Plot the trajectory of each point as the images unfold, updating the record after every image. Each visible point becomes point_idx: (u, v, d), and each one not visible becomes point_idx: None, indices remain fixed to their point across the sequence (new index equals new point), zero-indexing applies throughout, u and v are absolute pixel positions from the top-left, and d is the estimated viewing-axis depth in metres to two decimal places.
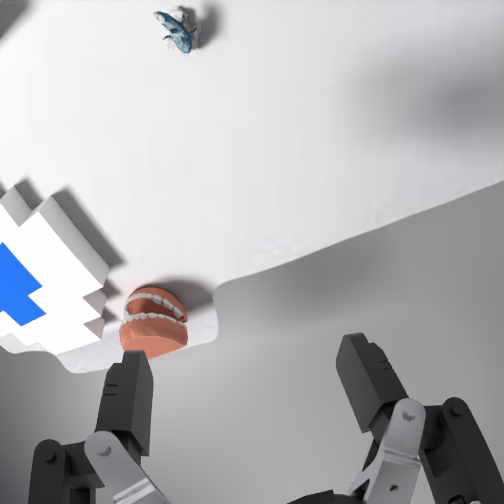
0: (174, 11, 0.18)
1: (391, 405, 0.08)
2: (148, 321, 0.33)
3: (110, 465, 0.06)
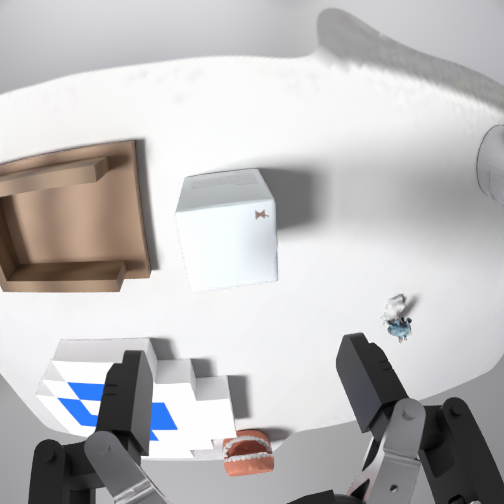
0: (402, 304, 0.32)
1: (391, 405, 0.08)
2: (262, 459, 0.40)
3: (110, 465, 0.06)
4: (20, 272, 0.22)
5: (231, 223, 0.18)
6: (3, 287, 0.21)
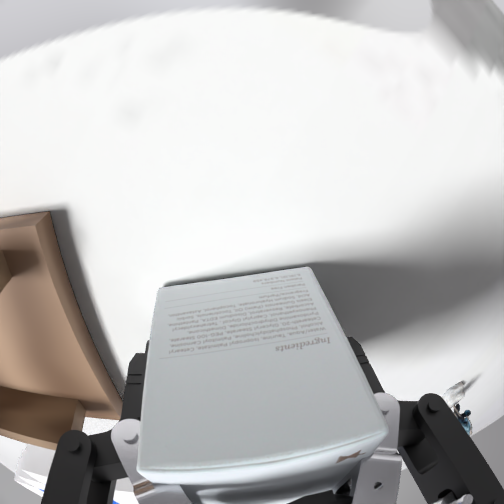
0: (462, 395, 0.20)
1: None
2: None
3: None
4: None
5: (278, 477, 0.06)
6: None
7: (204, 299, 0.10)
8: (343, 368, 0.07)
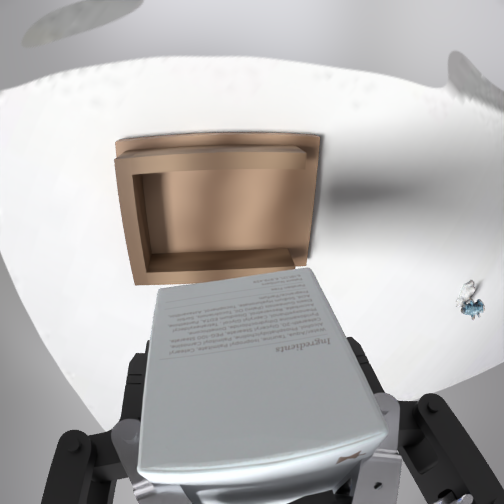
0: (473, 288, 0.35)
1: None
2: None
3: None
4: (160, 262, 0.24)
5: (278, 478, 0.06)
6: (137, 280, 0.23)
7: (204, 300, 0.10)
8: (343, 369, 0.07)
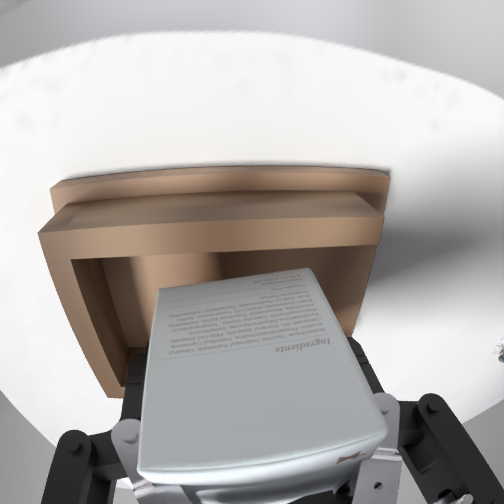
0: None
1: None
2: None
3: None
4: None
5: (278, 478, 0.06)
6: (110, 393, 0.14)
7: (204, 300, 0.10)
8: (343, 369, 0.07)
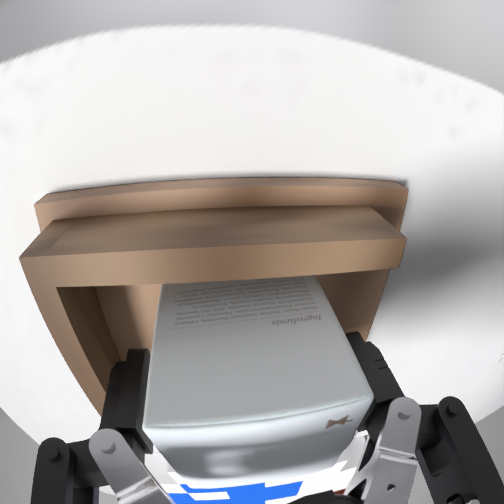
0: None
1: (387, 404, 0.09)
2: None
3: (115, 463, 0.06)
4: None
5: (272, 440, 0.07)
6: None
7: None
8: (332, 341, 0.08)
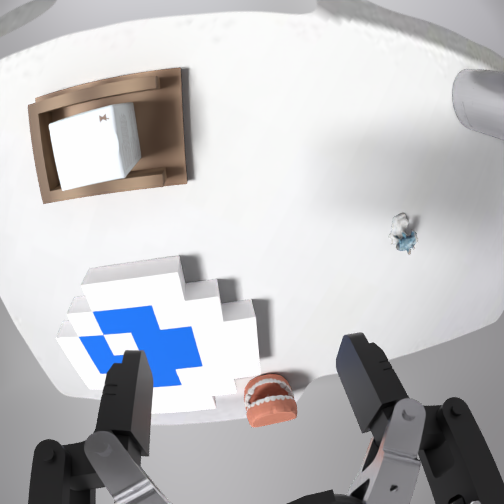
0: (405, 220, 0.36)
1: (391, 405, 0.08)
2: (286, 401, 0.44)
3: (110, 465, 0.06)
4: None
5: (83, 127, 0.19)
6: (44, 198, 0.25)
7: None
8: None
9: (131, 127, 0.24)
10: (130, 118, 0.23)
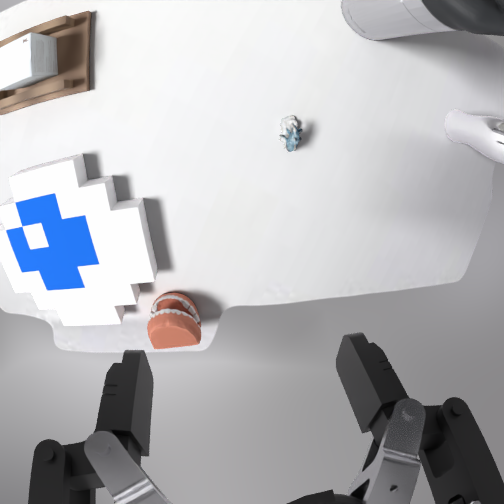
0: (293, 120, 0.37)
1: (391, 405, 0.08)
2: (182, 316, 0.44)
3: (110, 465, 0.06)
4: None
5: (14, 48, 0.20)
6: None
7: None
8: None
9: (49, 51, 0.24)
10: (49, 45, 0.24)
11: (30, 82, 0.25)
